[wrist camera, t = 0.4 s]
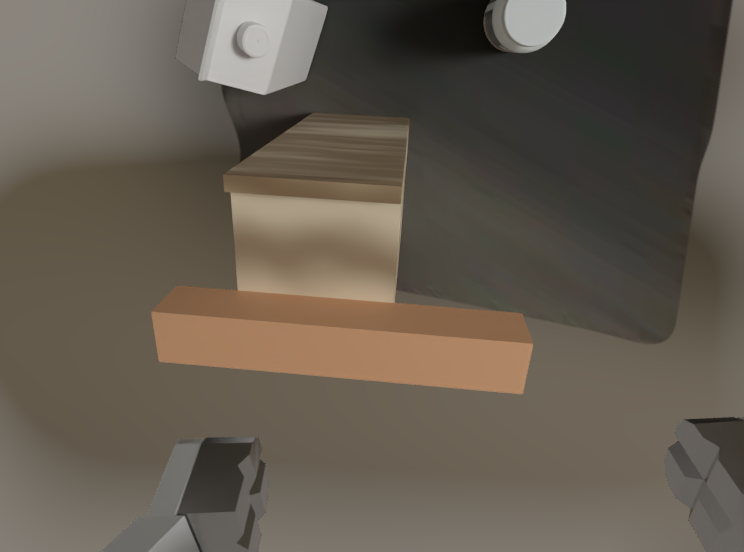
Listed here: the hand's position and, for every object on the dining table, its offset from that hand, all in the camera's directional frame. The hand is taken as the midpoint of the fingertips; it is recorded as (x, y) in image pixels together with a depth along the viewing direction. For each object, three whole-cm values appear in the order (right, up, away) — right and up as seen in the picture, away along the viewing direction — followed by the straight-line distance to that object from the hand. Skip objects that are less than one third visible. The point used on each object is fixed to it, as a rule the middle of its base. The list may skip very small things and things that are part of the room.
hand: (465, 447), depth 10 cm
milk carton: (-10, +28, +40) cm, 49 cm away
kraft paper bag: (-3, +14, +45) cm, 47 cm away
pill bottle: (+12, +28, +38) cm, 48 cm away
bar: (-4, 0, +23) cm, 23 cm away
